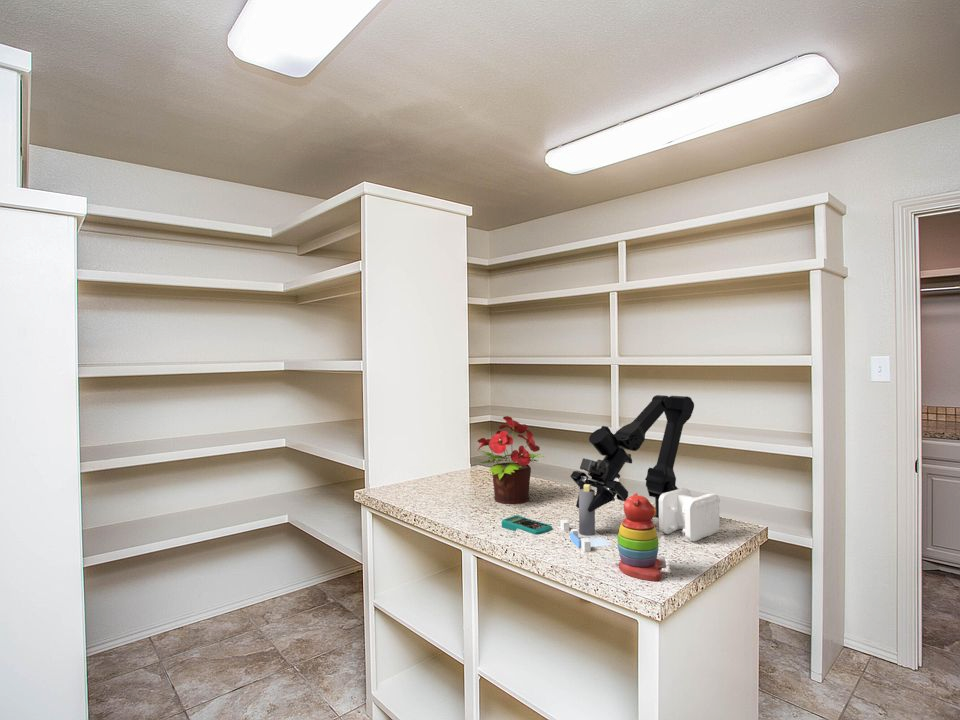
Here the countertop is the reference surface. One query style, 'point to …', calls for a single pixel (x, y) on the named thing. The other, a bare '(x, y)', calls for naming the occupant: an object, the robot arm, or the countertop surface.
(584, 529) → the grey cylinder
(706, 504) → the cable organizer
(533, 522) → the digital multimeter
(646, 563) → the stacking bear
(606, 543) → the board
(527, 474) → the potted plant
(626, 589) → the countertop surface
